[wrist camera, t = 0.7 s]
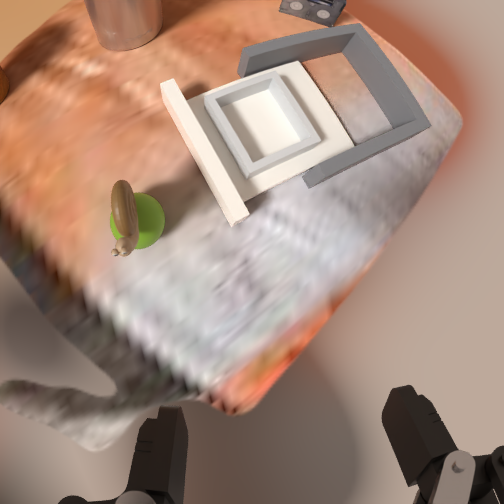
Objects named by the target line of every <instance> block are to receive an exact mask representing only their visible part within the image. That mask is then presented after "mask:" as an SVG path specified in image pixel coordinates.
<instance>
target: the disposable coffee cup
mask: <svg viewBox="0 0 504 504" xmlns="http://www.w3.org/2000/svg"><path fill="white" fill-rule="evenodd" d="M8 90H9V80H8V78H7V77H6V75H5V73H4V72H3V70H2V68H1V67H0V104H1V102H2V101H3V100H4V98H5V97H6V95H7V92H8Z"/></svg>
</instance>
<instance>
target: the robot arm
mask: <svg viewBox="0 0 504 504" xmlns="http://www.w3.org/2000/svg"><path fill="white" fill-rule="evenodd" d="M84 2H85V5H86V8H87V10H88V13H89V16H90V19H91V21H92V24H93V27H94V30H95V32H96V35H97V37H98V40H99V42H100V44H101V45H102V46H103V47H105V48H107V49H110V50H114V51H124V50H130V49H134V48H137V47H139V46H142V45H144V44H146V43H147V42H149V41H150V40H152V39H153V38H154V37H155V36H156V35H157V34H158V33H159V31H160V30H161V27H162V24H163V17H162V6H161V0H84ZM382 423H383V426H384V429H385V431H386V433H387V436H388V438H389V441H390V443H391V446H392V448H393V450H394V453H395V455H396V458H397V460H398V462H399V465H400V468H401V470H402V472H403V475H404V478H405V480H406V483H407V485H408V487H410V486H413V485H416V484H418V486H419V490H418V491H417V493H416V496H415V499H414V502H413V504H499V502H500V504H504V446H500V447H498V448H496V449H495V450H494V452H493V453H492V454H489V455H482V456H471V455H470V454H469V453H468V452H465V451H461V450H458V448H457V447H456V445H455V443H454V441H453V439H452V437H451V436H450V434H449V432H448V430H447V429H446V427H445V425H444V423H443V421H441V418H440V416H439V414H437V411H436V409H435V407H434V406H433V404H432V402H430V400H428V399H427V398H426V397H425V396H423V395H417V393H416V392H415V390H414V388H413V387H412V386H411V385H406V386H402V387H397V388H393V389H392V390H391V392H390V394H389V397H388V399H387V402H386V404H385V406H384V409H383V411H382ZM187 450H188V429H187V426H186V422H185V419H184V415H183V411H182V408H181V406H164V405H161V406H160V408H159V412H158V417H157V419H150V418H147V419H146V421H145V422H144V423H143V425H142V426H141V427H140V429H139V433H138V437H137V443H136V446H135V452H134V455H133V460H132V465H131V470H130V474H129V480H128V484H127V487H126V490H125V491H124V492H123V493H122V494H121V495H120V496H119V497H117V498H115V499H112V500H106V501H93V502H87V501H86V500H85V499H83V498H82V497H79V496H67V497H65V498H63V499H62V500H61V501H60V502H59V503H58V504H183V499H184V486H185V473H186V462H187ZM493 489H494V490H495V492H496V495H497V497H498V500H499V502H498V500H497V498H496V495H495V493H494V490H493Z"/></svg>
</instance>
